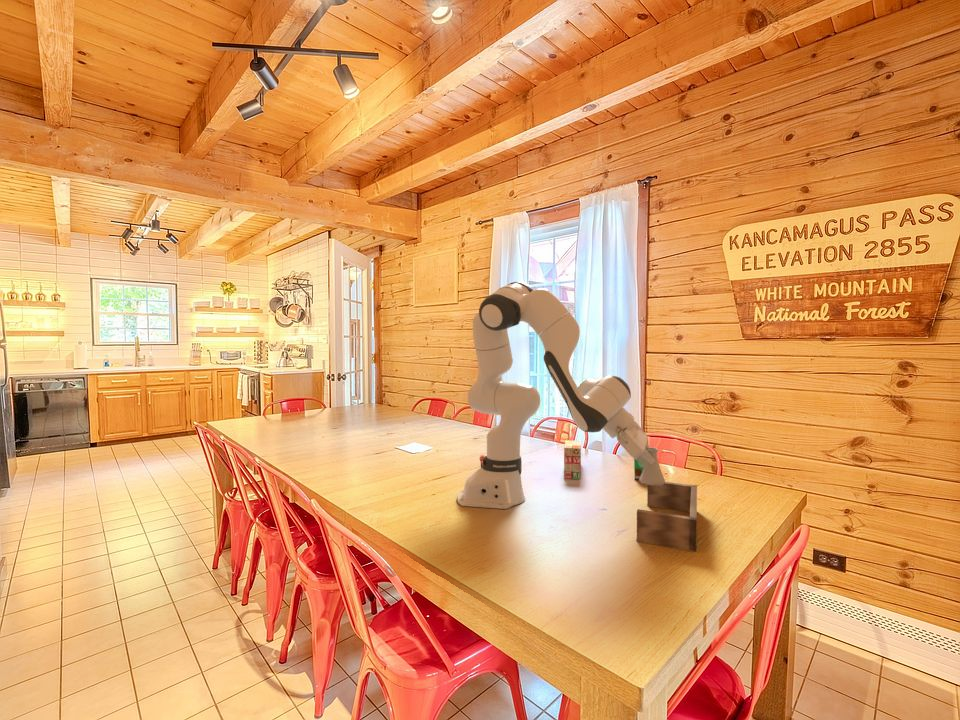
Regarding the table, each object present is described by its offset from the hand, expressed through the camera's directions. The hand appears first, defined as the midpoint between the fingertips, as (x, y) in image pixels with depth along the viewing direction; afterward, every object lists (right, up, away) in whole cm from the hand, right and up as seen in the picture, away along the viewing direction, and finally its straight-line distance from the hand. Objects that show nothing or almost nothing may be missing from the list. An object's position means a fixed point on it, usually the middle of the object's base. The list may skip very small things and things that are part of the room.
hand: (654, 460), depth 131 cm
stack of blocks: (-13, -16, +50) cm, 54 cm away
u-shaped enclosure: (+3, -18, -3) cm, 18 cm away
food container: (+13, -16, +41) cm, 45 cm away
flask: (0, -7, +1) cm, 7 cm away
